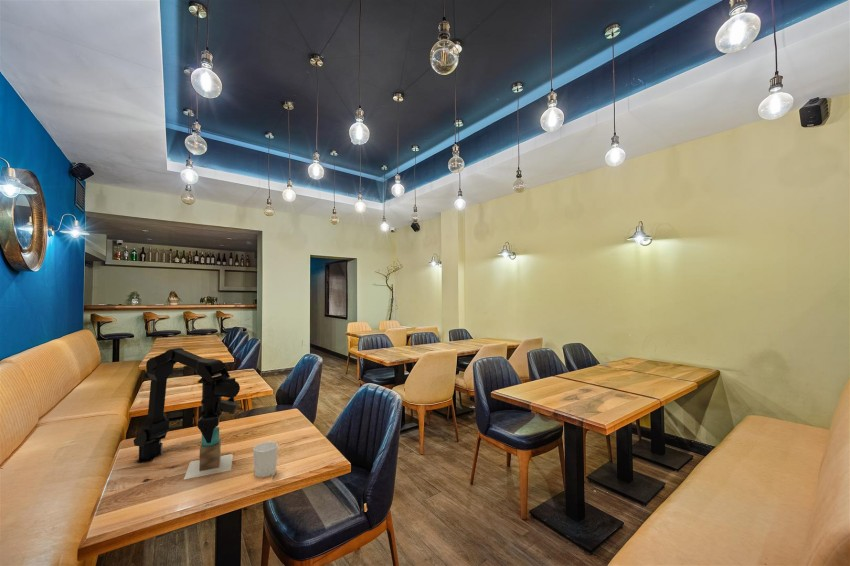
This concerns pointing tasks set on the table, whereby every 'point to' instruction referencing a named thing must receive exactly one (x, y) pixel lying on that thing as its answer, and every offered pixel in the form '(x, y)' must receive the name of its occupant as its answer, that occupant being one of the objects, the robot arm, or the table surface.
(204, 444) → the teal cylinder
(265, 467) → the white cup
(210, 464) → the block
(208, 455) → the tower top
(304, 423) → the table surface
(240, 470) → the table surface
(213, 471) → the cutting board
